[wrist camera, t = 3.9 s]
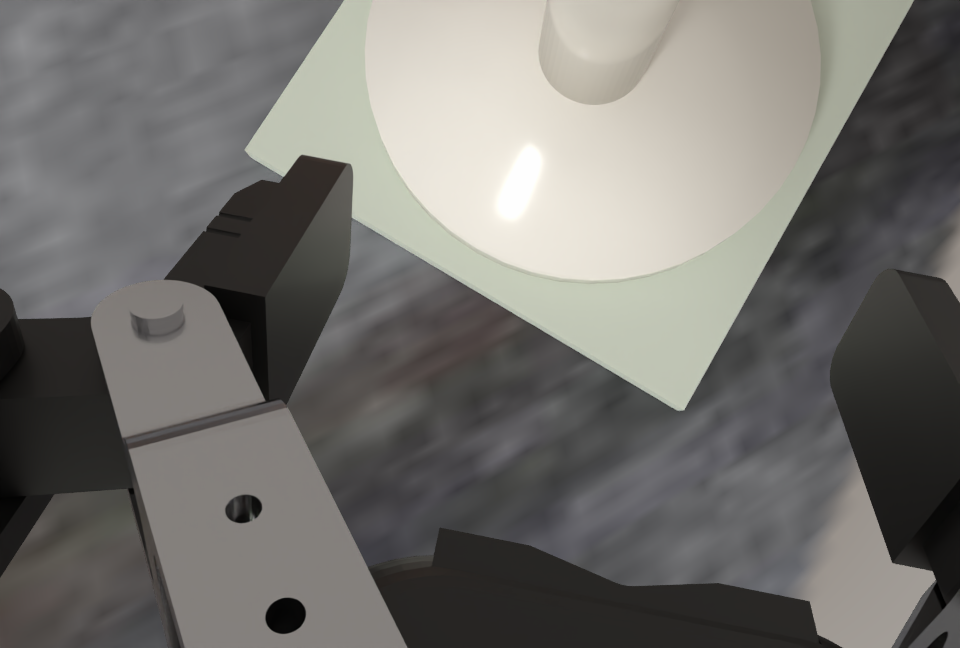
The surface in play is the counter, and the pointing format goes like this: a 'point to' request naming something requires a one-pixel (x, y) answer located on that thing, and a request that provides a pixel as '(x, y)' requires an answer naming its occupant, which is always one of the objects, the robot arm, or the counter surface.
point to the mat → (564, 305)
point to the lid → (592, 123)
